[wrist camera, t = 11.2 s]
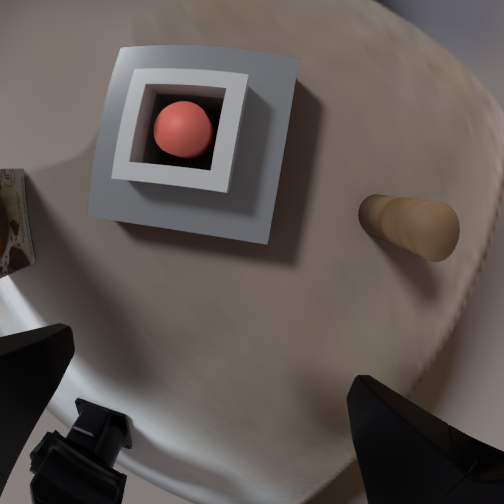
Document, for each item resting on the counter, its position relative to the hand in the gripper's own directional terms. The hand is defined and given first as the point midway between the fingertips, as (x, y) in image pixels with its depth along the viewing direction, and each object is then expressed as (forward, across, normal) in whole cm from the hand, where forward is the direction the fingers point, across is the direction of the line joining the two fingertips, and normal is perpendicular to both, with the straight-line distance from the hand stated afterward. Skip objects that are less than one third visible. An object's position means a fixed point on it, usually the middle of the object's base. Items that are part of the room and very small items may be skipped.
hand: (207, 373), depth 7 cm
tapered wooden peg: (+13, -10, -5) cm, 17 cm away
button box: (+13, +4, -8) cm, 16 cm away
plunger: (+12, +4, -8) cm, 15 cm away
